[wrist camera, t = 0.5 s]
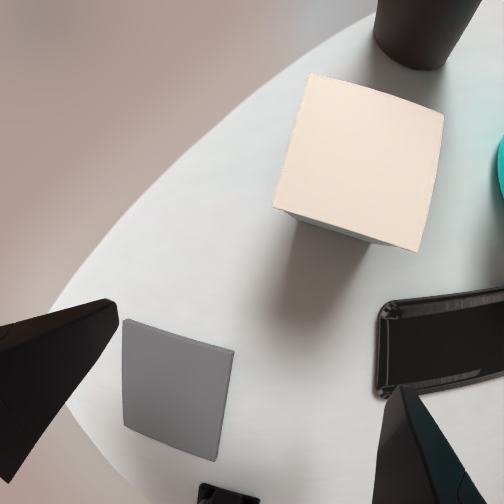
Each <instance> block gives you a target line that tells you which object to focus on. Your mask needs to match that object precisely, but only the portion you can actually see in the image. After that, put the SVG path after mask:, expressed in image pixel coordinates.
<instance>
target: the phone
mask: <svg viewBox="0 0 504 504" xmlns="http://www.w3.org/2000/svg"><path fill="white" fill-rule="evenodd" d="M500 376H504V286H502V287H496V288H489V289H483V290H476V291H469V292H462V293H454V294H446V295H438V296H430V297H421V298H412V299H402V300H393V301H389V302H387V303H386V304H384V305H383V307H382V308H381V309H380V312H379V316H378V352H377V372H376V389H377V392H378V394H379V395H380V396H381V397H382V398H385V399H389V398H390V396H391V395H392V393H393V391H394V390H395V388H396V387H397V386H398V385H407V386H411V387H412V388H413V389H414V391H415V392H416V394H417V395H421V394H427V393H433V392H438V391H443V390H448V389H453V388H457V387H462V386H466V385H470V384H475V383H479V382H482V381H486V380H490V379H493V378H497V377H500Z"/></svg>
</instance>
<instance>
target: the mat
mask: <svg viewBox="0 0 504 504" xmlns="http://www.w3.org/2000/svg"><path fill="white" fill-rule="evenodd" d="M233 356H234V351H232V350H229V349H225V348H221V347H217V346H214V345H210V344H207V343H203V342H199V341H196V340H193V339H189V338H186V337H183V336H179V335H176V334H173V333H170V332H166V331H163V330H160V329H157V328H154V327H151V326H148V325H145V324H142V323H139V322H136V321H133V320H131V319H126V320H123V327H122V399H123V419H124V426H126V427H128V428H131V429H133V430H135V431H137V432H139V433H141V434H143V435H146V436H148V437H150V438H152V439H155V440H157V441H159V442H162V443H164V444H167V445H169V446H172V447H174V448H177V449H179V450H182V451H185V452H188V453H190V454H193V455H196V456H199V457H202V458H205V459H208V460H211V461H214V462H215V460H216V458H217V454H218V448H219V442H220V436H221V430H222V424H223V417H224V411H225V405H226V399H227V393H228V387H229V381H230V374H231V368H232V362H233Z"/></svg>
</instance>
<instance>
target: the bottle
mask: <svg viewBox="0 0 504 504" xmlns="http://www.w3.org/2000/svg"><path fill="white" fill-rule="evenodd" d="M481 1H482V0H378V6H377V11H376V17H375V23H374V34H375V37H376V40H377V43H378V44H379V45H380V47H381V48H382V50H383V51H384V52H385V53H386V54H388V55H389V56H390V57H391V58H392V59H393V60H395V61H397V62H399V63H401V64H402V65H404V66H407V67H410V68H413V69H416V70H432V69H436V68H438V67H440V66H441V65H442V64H444V63H445V61H446V60H447V58H448V56H449V55H450V53H451V52H452V50H453V48H454V47H455V45H456V43H457V42H458V40H459V39H460V37H461V35H462V34H463V32H464V30H465V29H466V27H467V25H468V23H469V22H470V20H471V18H472V17H473V15H474V13H475V11H476V10H477V8H478V6H479V4H480V3H481Z"/></svg>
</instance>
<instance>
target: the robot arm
mask: <svg viewBox="0 0 504 504" xmlns="http://www.w3.org/2000/svg"><path fill="white" fill-rule="evenodd" d="M118 326H119V317H118V310H117V305H116V303H115V302H114V301H111V300H109V299H106V298H104V299H100V300H97V301H93V302H89V303H86V304H82V305H78V306H75V307H71V308H67V309H64V310H60V311H56V312H53V313H49V314H45V315H41V316H38V317H34V318H30V319H27V320H23V321H19V322H16V323H12V324H8V325H4V326H0V478H2V479H3V480H4V481H5V482H6V483H8V484H9V482H10V481H11V480H12V478H13V477H14V475H15V474H16V472H17V471H18V469H19V468H20V466H21V465H22V463H23V462H24V460H25V459H26V457H27V456H28V454H29V453H30V452H31V450H32V449H33V447H34V446H35V444H36V443H37V441H38V440H39V438H40V437H41V435H42V434H43V432H44V431H45V430H46V428H47V427H48V426H49V424H50V423H51V421H52V420H53V418H54V417H55V416H56V415H57V413H58V412H59V410H60V409H61V408H62V406H63V405H64V404H65V402H66V401H67V400H68V398H69V397H70V396H71V394H72V393H73V392H74V390H75V389H76V388H77V386H78V385H79V384H80V382H81V381H82V380H83V378H84V377H85V376H86V375H87V373H88V372H89V371H90V369H91V368H92V367H93V366H94V364H95V363H96V361H97V360H98V358H99V357H100V355H101V354H102V352H103V351H104V349H105V347H106V346H107V344H108V343H109V341H110V339H111V338H112V336H113V335H114V333H115V332H116V330H117V328H118ZM259 503H260V500H259V499H258V498H255V497H250V496H246V495H243V494H239V493H235V492H232V491H228V490H225V489H221V488H218V487H215V486H212V485H209V484H206V483H201V484H200V486H199V492H198V501H197V504H259ZM372 504H487V503H486V501H485V500H484V498H483V497H482V496H481V494H480V493H479V491H478V490H477V488H476V486H475V485H474V483H473V482H472V480H471V478H470V477H469V475H468V473H467V472H466V471H465V468H464V467H463V465H462V463H461V462H460V460H459V458H458V457H457V455H456V454H455V452H454V450H453V449H452V447H451V446H450V444H449V442H448V441H447V439H446V438H445V436H444V435H443V433H442V431H441V430H440V428H439V427H438V425H437V424H436V422H435V421H434V419H433V418H432V416H431V414H430V413H429V411H428V410H427V408H426V407H425V405H424V404H423V402H422V401H421V399H420V398H419V397H418V395H417V394H416V392H415V391H414V389H413V388H412V387H411V386H407V385H398V386H397V387H396V388H395V390H394V391H393V393H392V395H391V396H390V398H389V399H388V401H387V402H386V405H385V408H384V415H383V422H382V428H381V434H380V440H379V445H378V451H377V461H376V472H375V482H374V491H373V499H372Z"/></svg>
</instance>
